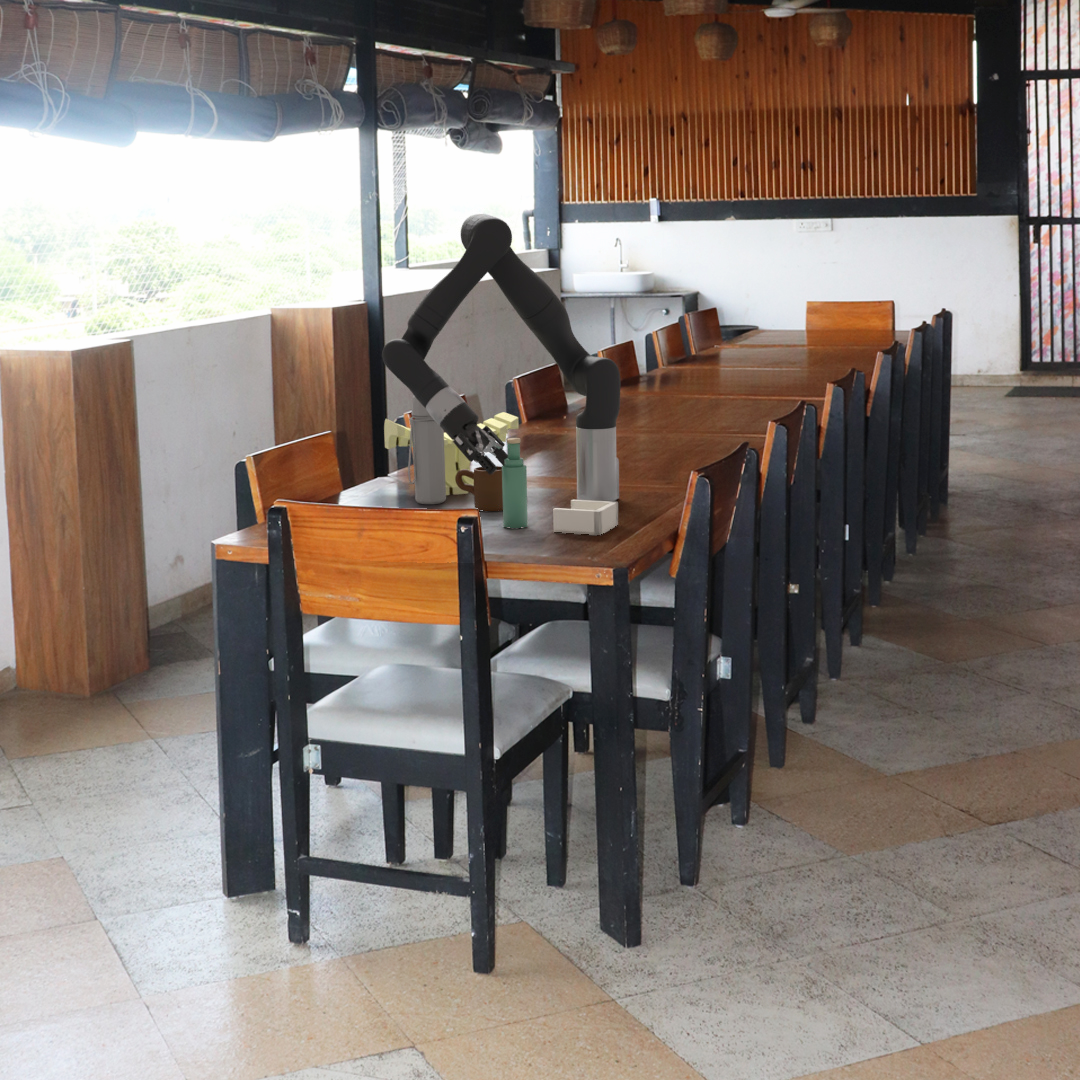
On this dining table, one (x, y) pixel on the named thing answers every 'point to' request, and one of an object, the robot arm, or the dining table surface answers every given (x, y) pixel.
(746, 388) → the dining table surface
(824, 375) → the dining table surface
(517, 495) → the green bottle
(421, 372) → the robot arm
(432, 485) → the water bottle
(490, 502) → the mug
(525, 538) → the dining table surface
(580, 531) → the holder
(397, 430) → the slatted curved stool
